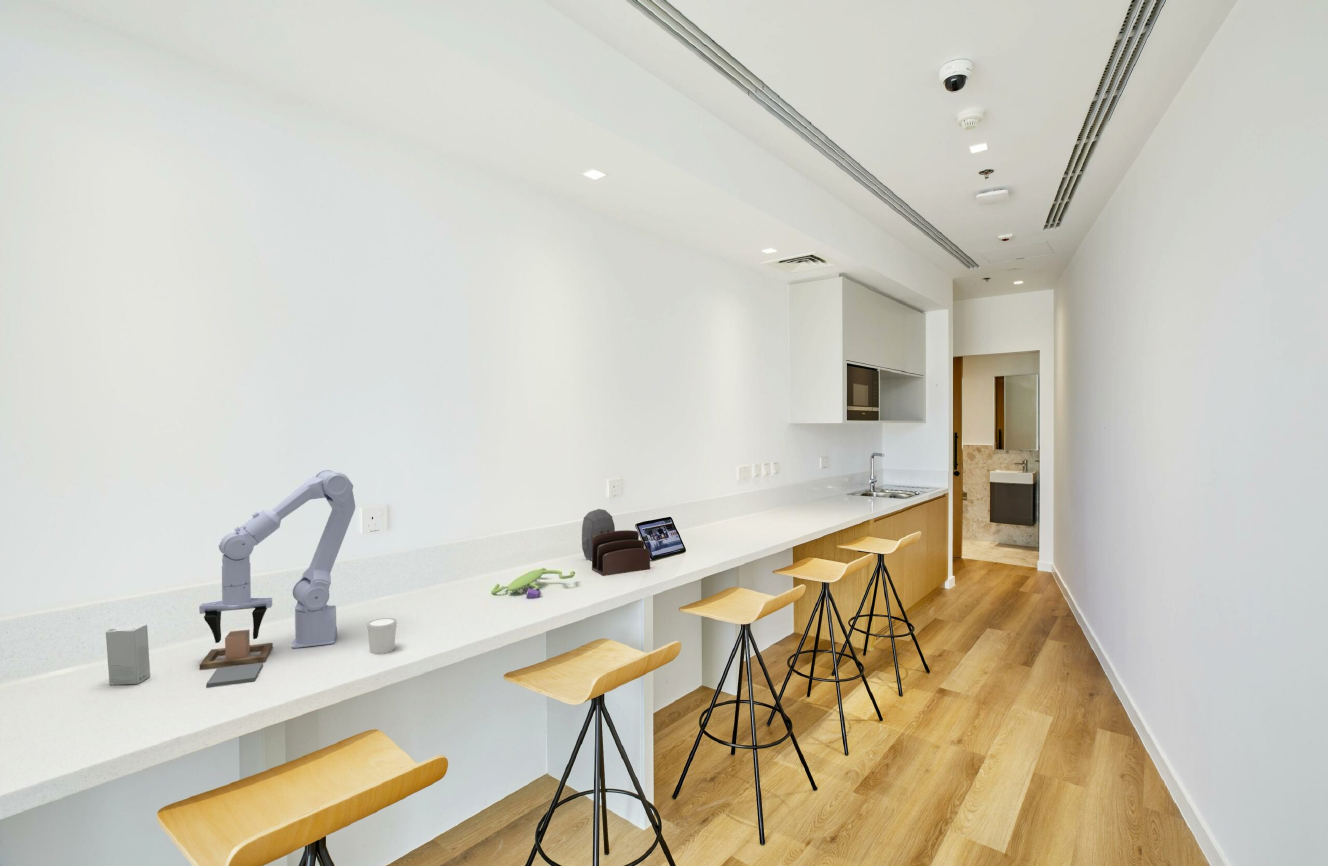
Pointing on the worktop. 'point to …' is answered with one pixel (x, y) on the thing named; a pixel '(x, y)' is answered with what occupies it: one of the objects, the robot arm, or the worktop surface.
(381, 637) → the light grey cup
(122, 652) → the skincare box
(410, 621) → the worktop surface
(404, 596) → the worktop surface
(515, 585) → the figurine
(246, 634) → the terracotta block
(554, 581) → the worktop surface
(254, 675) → the slate mat
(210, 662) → the walnut frame
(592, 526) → the small grey backpack
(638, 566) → the letter holder
